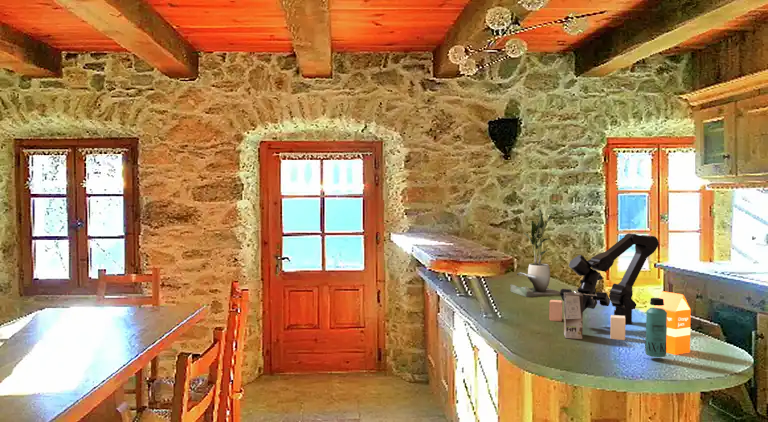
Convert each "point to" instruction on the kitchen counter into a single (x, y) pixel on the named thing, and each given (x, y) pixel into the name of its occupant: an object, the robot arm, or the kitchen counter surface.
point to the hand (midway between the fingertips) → (578, 314)
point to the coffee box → (573, 315)
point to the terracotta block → (555, 310)
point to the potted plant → (537, 265)
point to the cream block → (617, 327)
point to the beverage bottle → (656, 329)
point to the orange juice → (676, 322)
